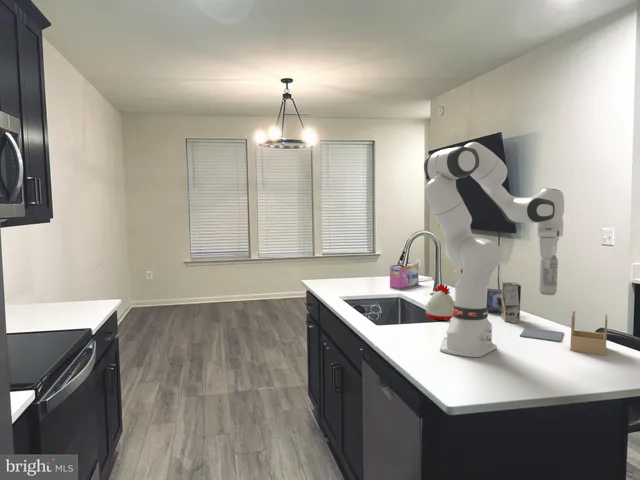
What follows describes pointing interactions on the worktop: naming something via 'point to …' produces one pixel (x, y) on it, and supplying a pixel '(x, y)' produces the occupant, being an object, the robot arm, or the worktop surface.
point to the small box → (494, 300)
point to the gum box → (403, 275)
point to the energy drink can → (548, 277)
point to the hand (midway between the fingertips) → (548, 267)
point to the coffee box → (511, 302)
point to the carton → (588, 340)
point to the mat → (542, 334)
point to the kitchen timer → (440, 304)
